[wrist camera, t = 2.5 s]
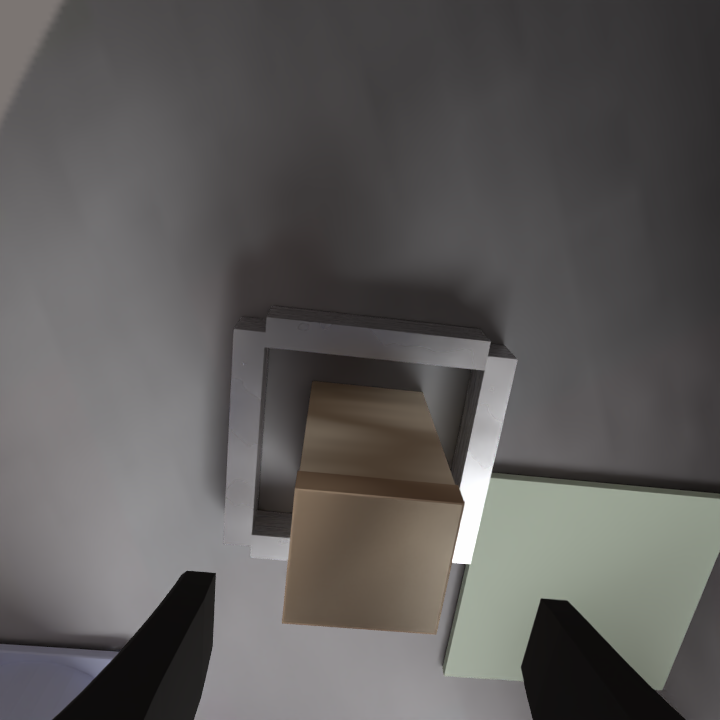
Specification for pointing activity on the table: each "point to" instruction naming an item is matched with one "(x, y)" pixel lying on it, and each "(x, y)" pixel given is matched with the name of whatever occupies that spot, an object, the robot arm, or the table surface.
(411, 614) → the maple peg
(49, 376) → the table surface
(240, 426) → the metal collar
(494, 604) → the pad
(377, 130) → the table surface
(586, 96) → the table surface
